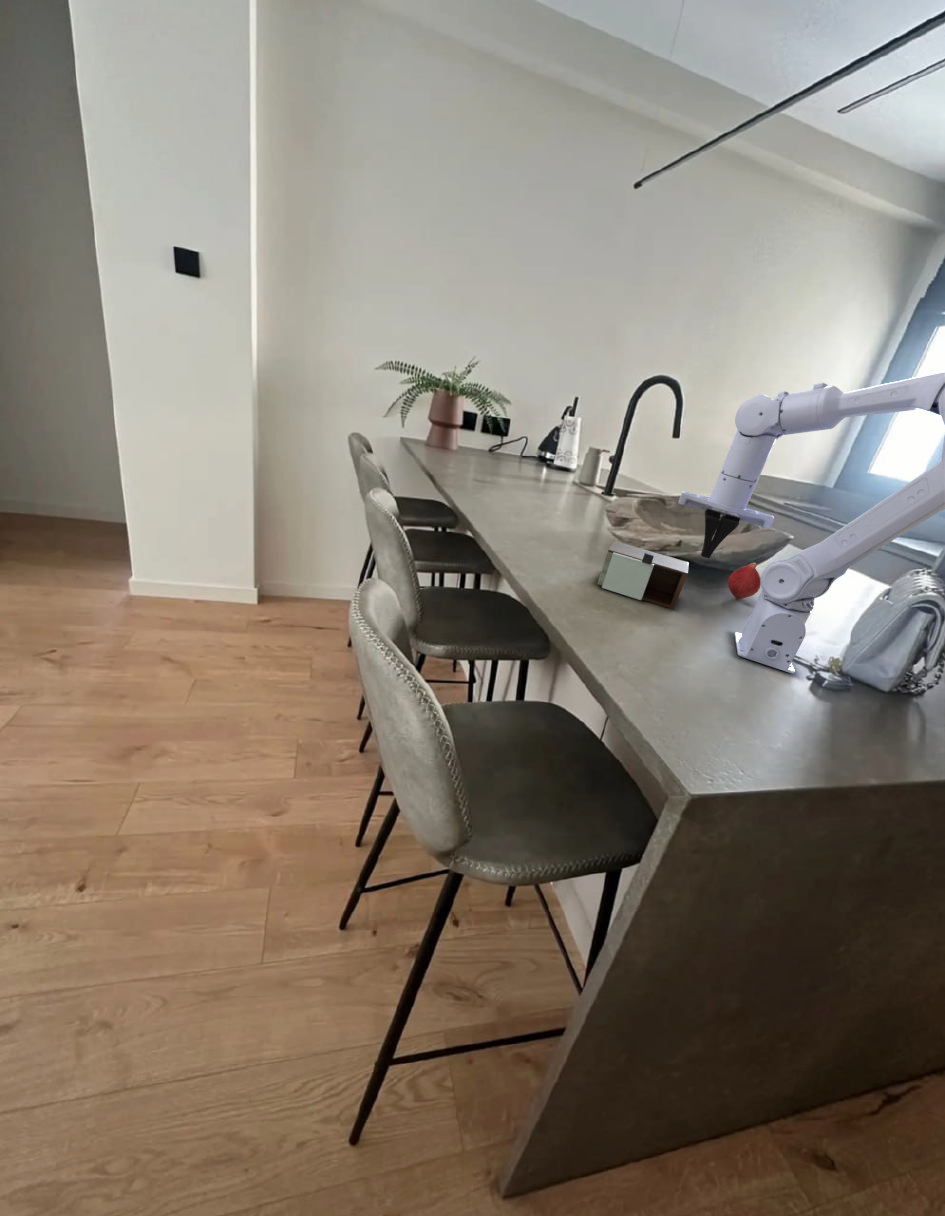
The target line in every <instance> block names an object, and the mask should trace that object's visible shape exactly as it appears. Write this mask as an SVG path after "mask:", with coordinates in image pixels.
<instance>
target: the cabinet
mask: <svg viewBox="0 0 945 1216" xmlns="http://www.w3.org/2000/svg"><path fill="white" fill-rule="evenodd" d="M645 552H647V553H651V554H654V558H653V560H652V563H651V564H654V566H653V569H652V572H651V575H650V577H649V580H648V583H647V586H646V588H645V591H644V594H643V597H642V599H641V601H646V602H649V603H652V604H655V605H659V606H661V607H665V608H668V609H671V610H675V608H676V606H677V605H676V604H677V602H678V599H679V598H680V595H681V592H682V590H683V587H684V584H685V582H686V579H687V577H688V575H689V562H688V561H685V560H682V559H678V558H675V557H672V556H668V555H665V554H662V553H658V552H655V551H651V550H648V549H644V548H642V547H641V548H640V547H638V546H634V545H631V544H628V543H624V542H622V541H621V542H620V541H617V540H614V541H613V543H612V544H611V545H610V547H609V548H608V550H607V552H606V556H605V559H604V562H603V565H602V568H601V571H600V574H599V577H598V580H597V584H596V585H597V586H599V587H602V586H603V583H604V580H605V576H606V573H607V570H608V567H609V564H610V561H611V558H612V555H613V553H617V554H621V555H624V556H627V557H631V558H634V559H637V560H641V561H642V560H643V557H644V554H645Z"/></svg>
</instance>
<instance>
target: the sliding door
mask: <svg viewBox="0 0 945 1216" xmlns="http://www.w3.org/2000/svg"><path fill="white" fill-rule="evenodd" d="M653 558H654V554H651V553H647V552H645V554H644V557H643V560H642V561H641V560H637V559H634V558H631V557H627V556H624V555H621V554H617V553H613V555H612V558H611V561H610V564H609V567H608V570H607V573H606V576H605V580H604V583H603V586H601V588H602V589H604V590H608V591H611V592H614V593H616V594H617V593H618V594H620V595H624V596H626V597H629V598H632V599H636V600H638V601H642V597H643V594H644V591H645V588H646V586H647V583H648V580H649V577H650V575H651V572H652V569H653V566H654V564H651V563H652V560H653Z"/></svg>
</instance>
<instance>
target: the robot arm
mask: <svg viewBox="0 0 945 1216" xmlns="http://www.w3.org/2000/svg"><path fill="white" fill-rule="evenodd" d="M910 411H920V412H924V413H926V414H930V415H933V416H936V417H938V418H940V420H941V424H942V427H943V430H944V432H945V370H944V371H939V372H935V373H930V374H926V375H922V376H916V377H912V378H908V379H903V380H899V381H893V382H889V383H888V382H887V383H883V384H879V385H874V386H870V387H865V388H861V389H856V390H851V391H848V392H844V391H842V390H841V389H840V388H839V387H838V386H835V385H828V384H827V383H825V382H820V383H819V382H818V383H815V384H813V387H812V389H807V390H802V391H796V392H791V393H789V391H779V392H778V393H777V396H775V397H774V398H772V397H771V396H769V395H766V394H762V393H758V394H757V395H755V396H752V397H750V398H748V399H746V400H744V401H743V402H742V403H741V404H740V406H738V409H737V410H736V414H735V417H734V423H735V424H734V425H735V427H736V429H737V430H736V432H735V435H734V437H733V440H732V442H731V444H730V446H729V450H728V452H727V454H726V457H725V459H724V461H723V464H722V467H721V468H720V472H719V474H718V477H717V478H716V481H715V484H714V487H713V488H712V491H711V494H710V495H709V496H705V495H702V494H697V493H693V492H689V491H685V490H682V491H681V494H680V496H679V499H678V502H677V503H678V504H679V505H682V506H688V507H692V508H695V509H697V510H698V509H699V510H702V511H704V537H703V545H702V550H701V552H700V556H701V557H703V558H706V559H710V558H711V556H712V555H713V554H714V552H715V550H717V548H718V547H719V545H720V544H721V543H722V542H723V541H724V539H726V538H727V537H728V536H729V535H730V534H732V532H733V531H735V530H736V529H737V528H738V527H739V525H740V521H742V522H745V523H750V524H752V525H756V526H759V527H761V528H764V529H767V530H770V529H771V528H772V525H773V522H774V520H775V517H774V515H772V514H768V513H765V512H762V511H758V510H755V509H752V508H749V507H747V506H748V505H749V502H750V501H751V497H752V495H753V493H754V491H755V488H756V487H757V484H758V481H759V479H760V477H761V474H762V472H763V471H764V470H763V469H764V468H765V465H766V463H767V461H768V458H769V456H770V454H771V452H772V449H773V448H774V446H775V443H776V442H777V440H779V439H780V438H782V437H783V436H788V435H794V434H795V435H796V434H802V433H803V434H805V433H810V432H811V433H812V432H819V431H825V430H832V429H834V428H836V427H837V426H838V425H839V424H840V423H841V422H842V421H843V420H844V419H847V418H855V417H864V416H871V415H873V416H874V415H881V414H889V413H890V414H891V413H900V412H901V413H902V412H910ZM943 510H945V436H944V437H943V444H942V452H941V458H940V461H938V462H937V463H936V464H935V465H933V466H931V467H930V468H928V469H927V470H925V471H924V472H923V473H921V474H920V475H918V476H917V477H915V478H914V479H912V480H911V481H910V482H908V483H906V484H905V485H904V486H901V487H900V488H899V489H897V490H896V491H895V492H892V493H891V494H890V495H889V496H887V497H885V498H884V499H882V500H881V501H880V502H878V503H877V504H875V505H874V506H872V507H871V508H869V509H867V510H866V511H864V512H863V513H862V514H860V515H859V516H857V517H855V518H854V519H852V520H851V521H850V522H849V523H847V524H845V525H844V526H842V527H841V528H840V529H837V531H835V532H833V533H832V534H830V535H829V536H828V537H826V538H825V539H823V540H822V541H820V542H818V543H816V544H814V545H811V546H809V547H807V548H805V549H803V550H800V551H798V552H796V553H795V554H793V555H792V556H790V557H787V558H782V559H777V560H773V561H772V562H769V564H768V565H767V566H766V567H765V568H764V569H763V570H762V573H761V574H760V577H761V580H760V584H761V586H760V588H761V591H760V594H759V596H758V598H757V600H756V602H755V605H754V606H753V609H752V611H751V613H750V615H749V618H748V620H747V622H746V624H745V626H744V628H743V630H742V633H741V632H739V631H735V632H734V634H733V635H734V640H735V646H736V647H735V648H736V652H737V656H739V657H741V658H744V659H747V660H750V661H753V662H755V663H759V664H762V665H765V666H768V667H771V668H774V669H777V670H780V671H782V672H786V673H789V674H795V673H796V670H795V667H794V665H793V661H794V659H795V657H796V655H797V653H798V651H799V649H800V648H801V645H802V643H803V641H804V639H805V638H806V635H807V634H806V633H807V632H806V631H807V629H806V623H807V621H808V619H809V617H810V616H811V614H812V611H813V610H814V607H815V599H817V598H820V597H822V596H824V595H825V594H826V593H827V592H828V591H829V590H830V588H831V586H832V585H833V583H834V582H835V581H836V580H838V579H839V578H841V577H842V576H843V575H845V574H846V573H847V571H848V569H849V568H850V567H852V566H853V565H855V564H857V563H858V562H860V561H861V560H863V559H865V558H866V557H868V556H870V555H871V554H873V553H874V552H876V551H878V550H880V549H881V548H883V547H884V546H886V545H888V544H889V543H891V542H893V541H894V540H896V539H897V538H900V537H902V536H903V535H905V534H906V533H907V532H909V531H911V530H913V529H914V528H916V527H917V526H919V525H920V524H922V523H924V522H925V521H927V520H929V519H930V518H932V517H934V516H935V515H937V514H938V513H940V512H942V511H943Z"/></svg>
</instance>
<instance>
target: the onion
mask: <svg viewBox="0 0 945 1216" xmlns="http://www.w3.org/2000/svg"><path fill="white" fill-rule="evenodd" d="M727 579H728V580H727V587H728V589H729V591H730V593H731V594H732V596H733V597H734V598H735V600H737V601H741V600H743V599H747V598H750V597H752V596H754V595H755V594H757V593H758V592H759V590H760V588H761V584H760V580H761V574H760V573H759V571H758V570H757V563H756V562H752V563H749V564H747V565H744V566H740V567H739V568H737V569H735V570H734V571H733V572H732V573H731V574H730V575H729V577H728V578H727Z"/></svg>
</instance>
